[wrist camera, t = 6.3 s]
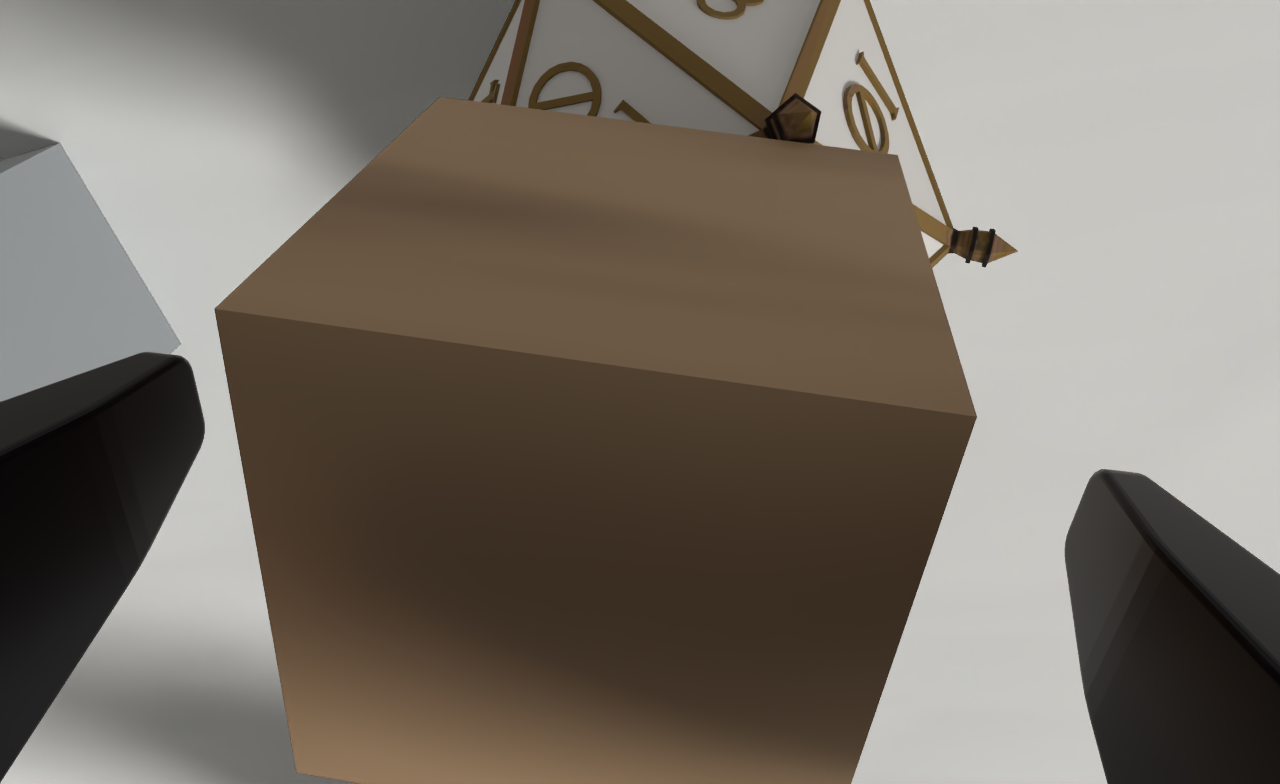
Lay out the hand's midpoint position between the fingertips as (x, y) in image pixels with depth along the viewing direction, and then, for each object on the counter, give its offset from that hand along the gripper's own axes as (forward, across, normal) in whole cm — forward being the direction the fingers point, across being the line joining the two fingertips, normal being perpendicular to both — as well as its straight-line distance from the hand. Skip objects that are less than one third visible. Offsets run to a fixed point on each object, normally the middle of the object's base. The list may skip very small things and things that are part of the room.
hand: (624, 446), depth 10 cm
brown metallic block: (+3, 0, 0) cm, 3 cm away
